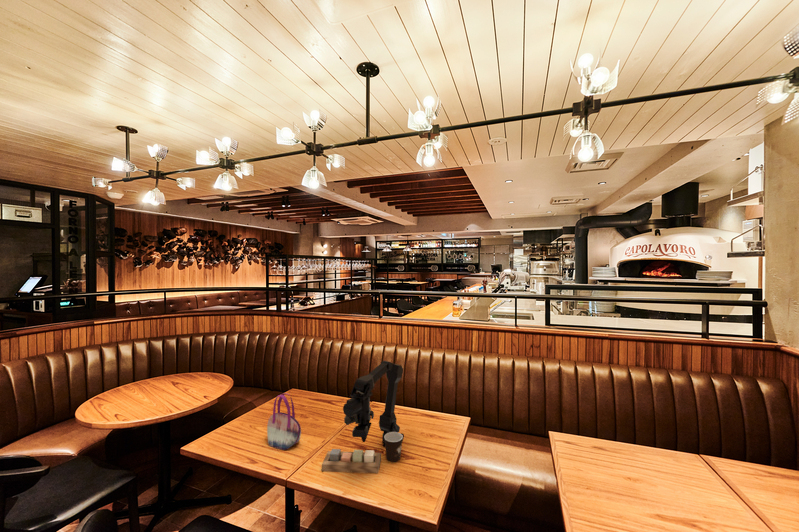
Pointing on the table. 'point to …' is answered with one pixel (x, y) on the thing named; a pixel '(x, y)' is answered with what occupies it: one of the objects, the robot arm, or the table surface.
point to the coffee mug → (393, 446)
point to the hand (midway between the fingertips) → (363, 441)
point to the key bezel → (351, 465)
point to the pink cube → (346, 457)
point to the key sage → (358, 456)
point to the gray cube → (335, 455)
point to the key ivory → (369, 456)
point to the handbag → (283, 426)
